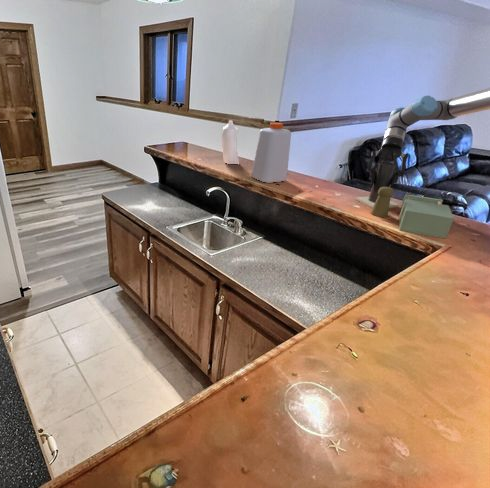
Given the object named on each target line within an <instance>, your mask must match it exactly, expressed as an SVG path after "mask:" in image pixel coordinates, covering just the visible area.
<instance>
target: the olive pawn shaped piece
mask: <svg viewBox="0 0 490 488" xmlns="http://www.w3.org/2000/svg"><path fill="white" fill-rule="evenodd" d="M378 194H379V196H378V198H377V200H376V202H375V204H374V206H373V208H372V209H371V211H370V214H371V215H372V216H375V217H379V218H387V217H389V211H390V208H389V205H390V201H391V199H392V198H391V197H392V196H393V195H394V194H395V190H394V189H393V188H390V187H381V188H380V189H379V190H378Z"/></svg>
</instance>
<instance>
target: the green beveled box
mask: <svg viewBox="0 0 490 488" xmlns="http://www.w3.org/2000/svg"><path fill="white" fill-rule="evenodd" d="M403 200H404V199H403ZM402 203H403V202H402ZM401 206H402V205H401ZM400 209H401V208H400ZM454 217H455V216H454V215H453V212H452V211H451V208H450V205H448V204H443V203H442V204H435V203H429V202H422V201H416V200H409V199H405V200H404V203H403V206H402V209H401V210H400V213H399V216H398V229H399V230H398V231H401V232H406V233H412V234H417V235H423V236H427V237H432V238H433V237H434V238H439V239H444V240H446V239H447V236H448V234H449V231H450V230H451V227H452V224H453V222H454V219H455V218H454Z"/></svg>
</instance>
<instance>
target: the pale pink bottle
mask: <svg viewBox="0 0 490 488" xmlns="http://www.w3.org/2000/svg"><path fill="white" fill-rule="evenodd" d="M233 121H234V120H231V119H229V120H228V123H227V124H226V125H225V126H224V127H222V130H221V149H222V158H223V163H224V162H225V163H227V164H226V165H228V164H238V165H240V160H239V154H238V148H237V146H238V145H237V144H238V131H239V130H238V129H239V128H238V127H237V126H235V124H234V122H233ZM225 163H224V164H225Z"/></svg>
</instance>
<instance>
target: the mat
mask: <svg viewBox="0 0 490 488" xmlns="http://www.w3.org/2000/svg"><path fill="white" fill-rule="evenodd" d="M355 199H356V200H355ZM368 199H369V196H355V197H354V200H355V201H357V200H358V201H357V202H359V201H360V202H359V203H361V204H363V205H365V206H367V207H369V208H370V209H371V208H372V209H373V206H374V204H375V203H374V202H371V201H369V200H368ZM391 208H400V204H398V203H396V202H394V201H391V200H390V205H389V209H391Z"/></svg>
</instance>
